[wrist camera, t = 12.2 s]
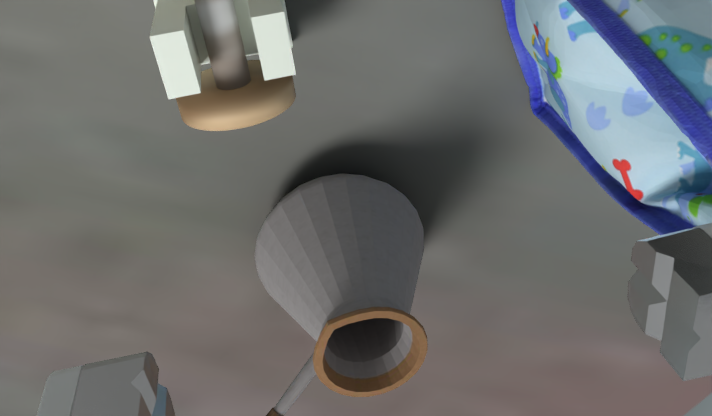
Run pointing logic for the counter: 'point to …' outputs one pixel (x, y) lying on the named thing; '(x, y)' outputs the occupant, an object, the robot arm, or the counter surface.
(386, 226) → the coffee pot
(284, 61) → the brackets
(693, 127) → the lunch bag
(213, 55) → the brown block with rod
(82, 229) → the counter surface
